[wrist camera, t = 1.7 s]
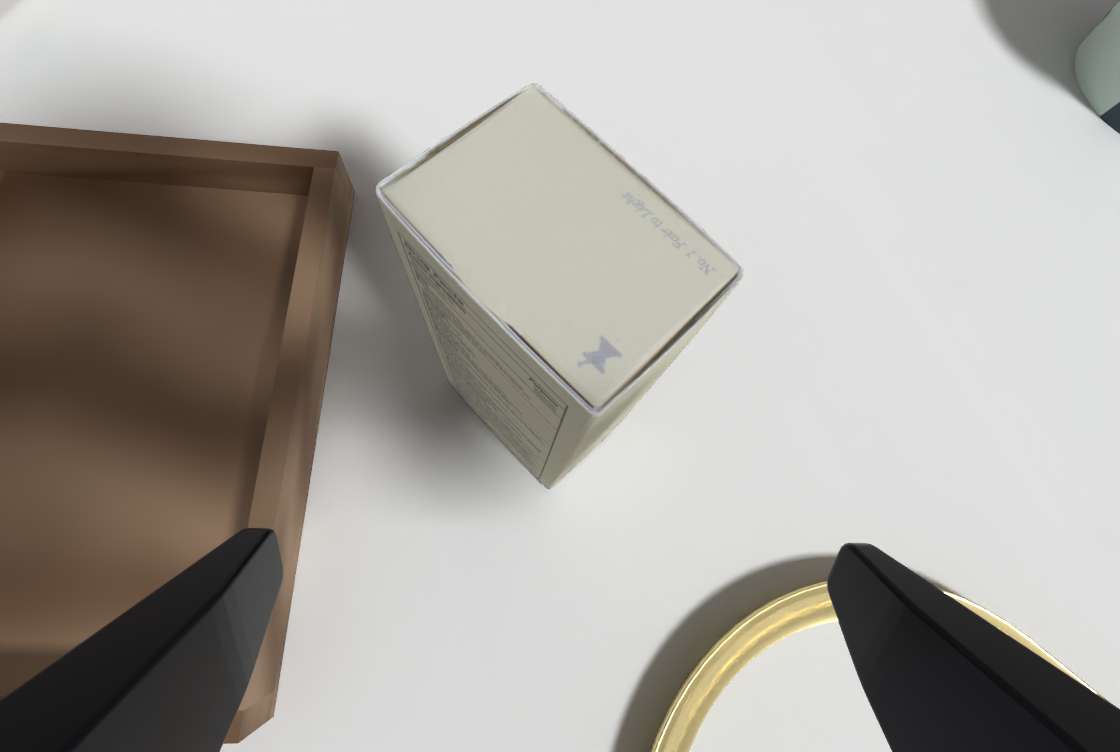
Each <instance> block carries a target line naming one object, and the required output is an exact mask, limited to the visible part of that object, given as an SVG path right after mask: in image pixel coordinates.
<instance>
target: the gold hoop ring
mask: <svg viewBox="0 0 1120 752" xmlns="http://www.w3.org/2000/svg"><path fill="white" fill-rule="evenodd" d="M938 589H939V588H938ZM940 590H941V591H943V592H944V593H946V594H947V595H949V596H950V597H952V598H953V599H955V600H956V601H958V602H959V603H961V604H962V605H964V606H965V607H967V608H968V609H970V610H971V611H973V612H974V613H976V614H977V615H979V616H980V617H982V618H983V619H985V620H986V621H988V622H989V623H991V624H992V625H994V626H995V627H997V628H998V629H1000V630H1001V631H1003V632H1004V633H1006V634H1008V635H1009V636H1011V637H1012V638H1014V639H1015V640H1017V641H1018V642H1020V643H1021V644H1023V645H1024V646H1026V647H1027V648H1029V649H1030V650H1032V651H1033V652H1035V653H1036V654H1038V655H1039V656H1041V657H1042V658H1044V659H1045V660H1047V661H1048V662H1050V663H1051V664H1053V665H1054V666H1056V667H1057V668H1059V669H1060V670H1062V671H1063V672H1065V673H1066V674H1068V675H1069V676H1071V677H1072V678H1074V679H1075V680H1077V681H1078V682H1080V683H1081V684H1083V685H1084V686H1086V687H1087V688H1089V689H1090V690H1092V691H1093V692H1095V693H1096V694H1098V695H1099V696H1101V695H1100V694H1099V693H1097V692H1096V691H1095V690H1094V689H1092V688H1091V687H1090V686H1089V685H1087V684H1086V683H1085V682H1084V681H1083V680H1081V679H1080V678H1079V677H1078V676H1076V675H1075V674H1074V673H1073V672H1071V671H1070V670H1069V669H1068V668H1066V667H1065V666H1064V665H1063V664H1061V663H1060V662H1059V661H1058V660H1056V659H1055V658H1054V657H1053V656H1052V655H1050V654H1049V653H1048V652H1047V651H1045V650H1044V649H1043V648H1042V647H1040V646H1039V645H1038V644H1037V643H1035V642H1034V641H1033V640H1032V639H1030V638H1029V637H1028V636H1027V635H1025V634H1024V633H1022V632H1021V631H1020V630H1018V629H1017V628H1015V627H1014V626H1013V625H1011V624H1010V623H1008V622H1007V621H1005V620H1004V619H1002V618H1000V617H999V616H997V615H995V614H994V613H992V612H990V611H988V610H987V609H985V608H983V607H981V606H979V605H977V604H975V603H973V602H971V601H969V600H967V599H965V598H963V597H961V596H958V595H955V594H953V593H950V592H947V591H944V590H942V589H940ZM835 621H838V619H837V616H836V613H835V610H834V608H833V605H832V602H831V599H830V596H829V593H828V589H827V581H824V582H819V583H815V584H812V585H809V586H805V587H802V588H799V589H796V590H794V591H792V592H789V593H787V594H785V595H782V596H780V597H778V598H775V599H774V600H772V601H770V602H768V603H767V604H765V605H763V606H761V607H760V608H758V609H756V610H755V611H753V612H752V613H751V614H749V615H748V616H746V617H745V618H744V619H742V620H741V621H740V622H738V623H737V624H736V625H734V626H733V627H732V628H731V629H730V630H729V631H728V632H727V633H726V634H725V635H723V636H722V637H721V638H720V639H719V640H718V641H717V642H716V643H715V644H714V645H713V646H712V648H711V649H710V650H709V651H708V652H707V653H706V654H705V655H704V657H703V658H702V659H701V660H700V661H699V663H698V664H697V665H696V667H695V668H694V669H693V671H692V672H691V674H690V675H689V676H688V678H687V679H686V681H685V682H684V683H683V685H682V687H681V688H680V690H679V692H678V694H677V695H676V697H675V699H674V700H673V702H672V704H671V706H670V707H669V709H668V711H667V714H666V716H665V718H664V720H663V722H662V724H661V726H660V728H659V731H658V733H657V735H656V738H655V740H654V743H653V746H652V749H651V751H650V752H689V750H690V748H691V746H692V743H693V741H694V739H695V737H696V734H697V732H698V730H699V728H700V726H701V724H702V722H703V721H704V719H705V717H706V715H707V713H708V712H709V710H710V708H711V707H712V705H713V704H714V702H715V701H716V699H717V698H718V697H719V695H720V694H721V692H722V691H723V690H724V688H725V687H726V686H727V685H728V684H729V682H730V681H731V680H732V679H733V678H734V677H735V675H736V674H737V673H738V672H739V671H740V670H741V669H743V668H744V667H745V666H746V665H747V664H748V663H749V662H750V661H751V660H752V659H753V658H755V657H756V656H757V655H759V654H760V653H761V652H763V651H764V650H765V649H767V648H768V647H770V646H771V645H773V644H775V643H776V642H778V641H780V640H781V639H783V638H785V637H787V636H789V635H792V634H794V633H796V632H798V631H801V630H803V629H806V628H810V627H813V626H816V625H819V624H824V623H829V622H835ZM1101 697H1102V696H1101ZM1102 698H1104V697H1102ZM1104 699H1105V698H1104ZM1105 700H1106V699H1105ZM1108 702H1109V701H1108Z"/></svg>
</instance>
